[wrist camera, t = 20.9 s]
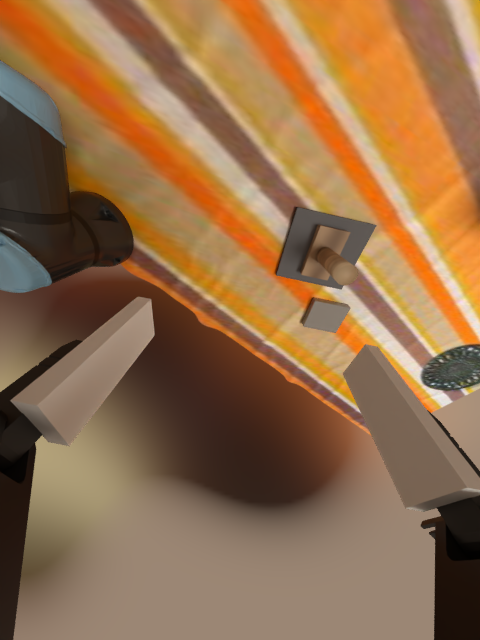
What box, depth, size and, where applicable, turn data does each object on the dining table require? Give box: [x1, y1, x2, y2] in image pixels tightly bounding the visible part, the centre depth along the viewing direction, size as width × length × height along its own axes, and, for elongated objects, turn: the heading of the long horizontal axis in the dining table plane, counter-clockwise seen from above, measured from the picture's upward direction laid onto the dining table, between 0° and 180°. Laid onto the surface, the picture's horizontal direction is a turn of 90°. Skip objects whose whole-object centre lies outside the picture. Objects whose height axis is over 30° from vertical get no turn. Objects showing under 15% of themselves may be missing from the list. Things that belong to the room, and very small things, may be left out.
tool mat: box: [276, 207, 377, 289], centre depth 40 cm, size 16×14×1 cm
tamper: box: [300, 225, 358, 285], centre depth 34 cm, size 6×10×14 cm, turn 170°
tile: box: [302, 297, 350, 333], centre depth 49 cm, size 2×8×9 cm
